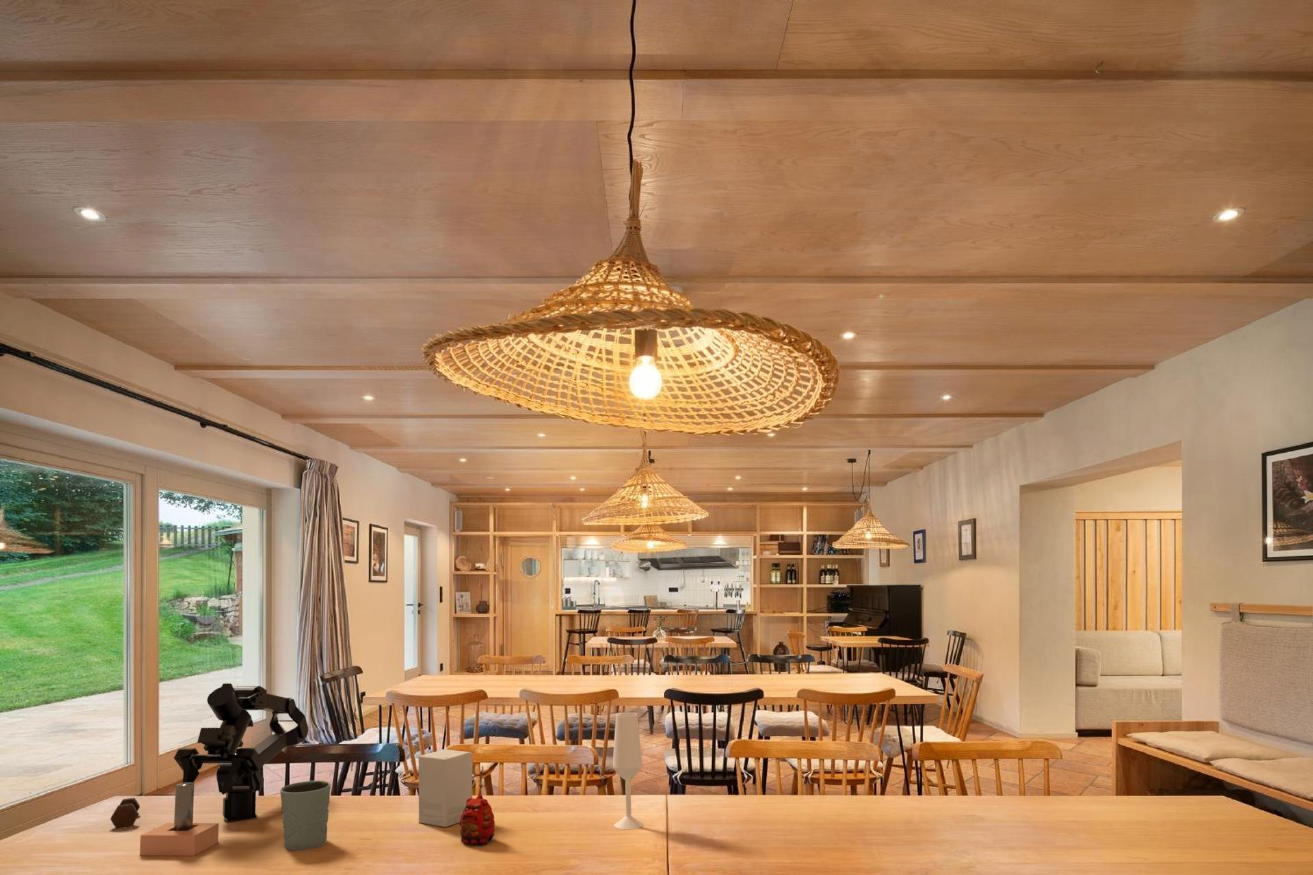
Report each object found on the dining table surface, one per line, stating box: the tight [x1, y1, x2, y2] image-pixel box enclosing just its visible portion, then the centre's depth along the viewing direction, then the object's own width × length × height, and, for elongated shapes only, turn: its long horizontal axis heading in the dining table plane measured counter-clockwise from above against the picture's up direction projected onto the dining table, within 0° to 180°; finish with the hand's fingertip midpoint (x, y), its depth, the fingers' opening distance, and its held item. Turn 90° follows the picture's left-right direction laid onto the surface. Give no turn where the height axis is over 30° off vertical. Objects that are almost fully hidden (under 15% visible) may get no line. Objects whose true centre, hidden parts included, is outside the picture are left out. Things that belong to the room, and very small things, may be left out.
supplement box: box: [418, 748, 473, 828], centre depth 220 cm, size 9×9×15 cm
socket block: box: [139, 822, 220, 857], centre depth 203 cm, size 9×12×4 cm
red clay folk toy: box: [459, 765, 496, 846], centre depth 203 cm, size 8×7×15 cm
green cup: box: [279, 780, 332, 851], centre depth 204 cm, size 10×10×12 cm
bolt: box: [110, 797, 141, 829], centre depth 227 cm, size 6×5×15 cm
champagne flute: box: [612, 712, 645, 830], centre depth 213 cm, size 7×7×24 cm
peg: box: [173, 782, 195, 831], centre depth 204 cm, size 4×4×13 cm
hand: (202, 793), depth 211 cm, fingers open, 9 cm apart
